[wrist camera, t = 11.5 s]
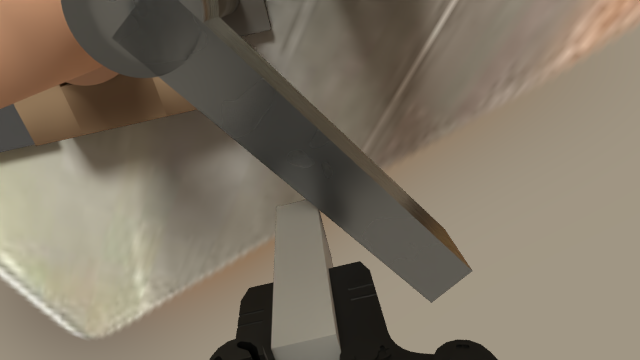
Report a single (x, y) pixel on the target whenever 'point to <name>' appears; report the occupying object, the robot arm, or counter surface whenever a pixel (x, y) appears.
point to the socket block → (122, 92)
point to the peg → (41, 51)
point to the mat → (13, 130)
